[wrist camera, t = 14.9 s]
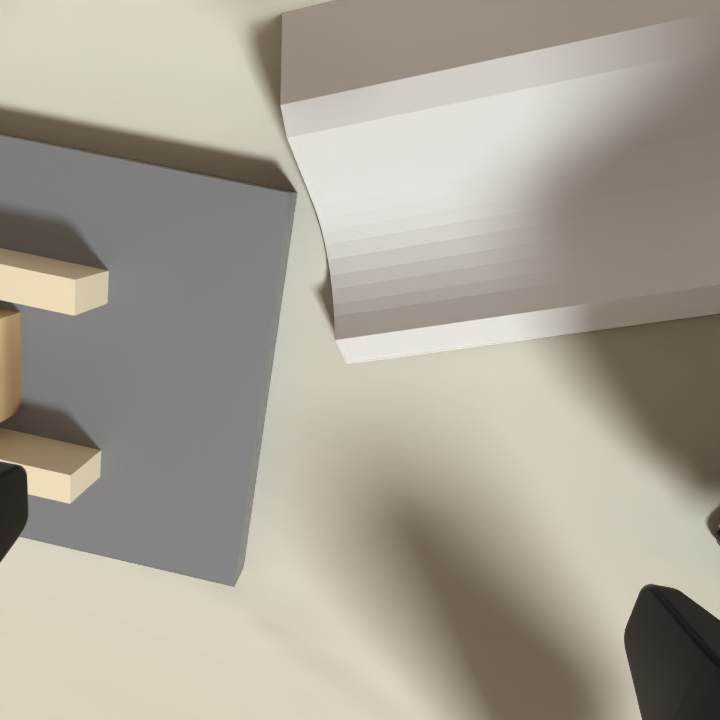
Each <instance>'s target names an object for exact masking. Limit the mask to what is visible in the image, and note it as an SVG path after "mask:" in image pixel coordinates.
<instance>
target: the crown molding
mask: <svg viewBox="0 0 720 720" xmlns="http://www.w3.org/2000/svg"><path fill="white" fill-rule="evenodd" d="M280 106H281V111H282V116H283V121H284V126H285V131H286V136H287V139H288V142H289V144H290V147H291V149H292V152H293V154H294V157H295V159H296V162H297V164H298V167H299V169H300V172H301V174H302V177H303V179H304V182H305V184H306V187H307V189H308V192H309V194H310V197H311V199H312V202H313V204H314V207H315V210H316V213H317V216H318V219H319V223H320V226H321V230H322V234H323V238H324V242H325V247H326V252H327V257H328V263H329V270H330V277H331V285H332V296H333V308H334V329H335V341H336V343H337V345H338V347H339V349H340V351H341V353H342V355H343V357H344V359H345V361H346V363H347V364H354V363H361V362H369V361H376V360H383V359H390V358H398V357H405V356H412V355H420V354H427V353H434V352H442V351H449V350H456V349H464V348H471V347H478V346H486V345H493V344H500V343H508V342H515V341H522V340H529V339H537V338H544V337H551V336H559V335H566V334H573V333H581V332H588V331H595V330H603V329H610V328H617V327H625V326H632V325H639V324H647V323H654V322H661V321H668V320H676V319H683V318H690V317H698V316H705V315H712V314H720V0H335V1H331V2H327V3H323V4H318V5H314V6H310V7H306V8H302V9H298V10H294V11H290V12H285V13H282V45H281V95H280Z"/></svg>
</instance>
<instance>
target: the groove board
mask: <svg viewBox="0 0 720 720" xmlns="http://www.w3.org/2000/svg"><path fill="white" fill-rule="evenodd" d="M296 198H297V193H296V192H291V191H286V190H281V189H276V188H271V187H266V186H261V185H256V184H251V183H246V182H241V181H236V180H231V179H226V178H221V177H216V176H211V175H206V174H201V173H196V172H190V171H185V170H180V169H175V168H170V167H165V166H160V165H155V164H150V163H145V162H140V161H135V160H130V159H125V158H120V157H115V156H110V155H105V154H100V153H95V152H90V151H85V150H80V149H75V148H70V147H65V146H60V145H55V144H50V143H45V142H40V141H35V140H30V139H25V138H20V137H15V136H10V135H5V134H0V308H2V309H7V310H12V311H16V312H21V389H22V411H20V412H18V413H16V414H15V415H13V416H11V417H9V418H7V419H6V420H4V421H2V422H0V461H1V462H7V463H12V464H17V465H21V466H22V467H23V468H24V469H25V470H26V472H27V482H28V508H29V514H28V520H27V523H26V526H25V528H24V530H23V531H22V533H21V534H20V536H19V537H23V538H28V539H32V540H36V541H41V542H45V543H49V544H53V545H58V546H62V547H66V548H71V549H75V550H79V551H83V552H88V553H92V554H96V555H101V556H105V557H109V558H113V559H118V560H122V561H126V562H130V563H135V564H139V565H143V566H148V567H152V568H156V569H160V570H165V571H169V572H173V573H178V574H182V575H186V576H190V577H195V578H199V579H203V580H208V581H212V582H216V583H220V584H225V585H229V586H233V587H235V584H236V582H237V580H238V578H239V576H240V574H241V572H242V569H243V566H244V559H245V552H246V545H247V538H248V531H249V524H250V517H251V510H252V503H253V496H254V490H255V483H256V476H257V469H258V462H259V455H260V448H261V441H262V434H263V427H264V420H265V413H266V406H267V399H268V392H269V385H270V378H271V371H272V364H273V357H274V350H275V344H276V337H277V330H278V323H279V316H280V309H281V302H282V295H283V288H284V281H285V274H286V267H287V260H288V253H289V246H290V239H291V232H292V225H293V218H294V211H295V205H296Z"/></svg>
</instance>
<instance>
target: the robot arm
mask: <svg viewBox="0 0 720 720" xmlns="http://www.w3.org/2000/svg"><path fill="white" fill-rule="evenodd" d="M28 514H29V508H28V482H27V472H26V470H25V469H24V468H23V467H22V466H21V465H17V464H12V463H7V462H1V461H0V562H1V561H2V559H3V558H4V557H5V555H6V554H7V553H8V551H9V550H10V548H11V547H12V546H13V544H14V543H15V541H16V540H17V539H18V537H19V536H20V534H21V533H22V531H23V530H24V528H25V526H26V523H27V520H28ZM716 540H717V543H718V544H719V545H720V531H719V532H718V534H717V537H716ZM624 643H625V650H626V654H627V658H628V662H629V667H630V671H631V675H632V679H633V684H634V688H635V692H636V696H637V700H638V705H639V709H640V713H641V717H642V720H720V620H718V619H717V618H716V617H714V616H713V615H712V614H710V613H709V612H708V611H706V610H705V609H704V608H702V607H701V606H700V605H698V604H697V603H696V602H694V601H693V600H692V599H690V598H689V597H687V596H686V595H685V594H683V593H682V592H681V591H679V590H677V589H674V588H670V587H665V586H659V585H654V584H648V585H645V586H644V587H643V588H642V589H641V591H640V593H639V595H638V598H637V600H636V603H635V605H634V608H633V610H632V613H631V615H630V618H629V621H628V623H627V626H626V629H625V634H624Z"/></svg>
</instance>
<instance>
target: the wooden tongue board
mask: <svg viewBox="0 0 720 720" xmlns="http://www.w3.org/2000/svg"><path fill="white" fill-rule="evenodd" d="M20 411H22V389H21V312H16V311H12V310H7V309H2V308H0V422H2V421H4V420H6V419H7V418H9V417H11V416H13V415H15V414H16V413H18V412H20Z"/></svg>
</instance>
